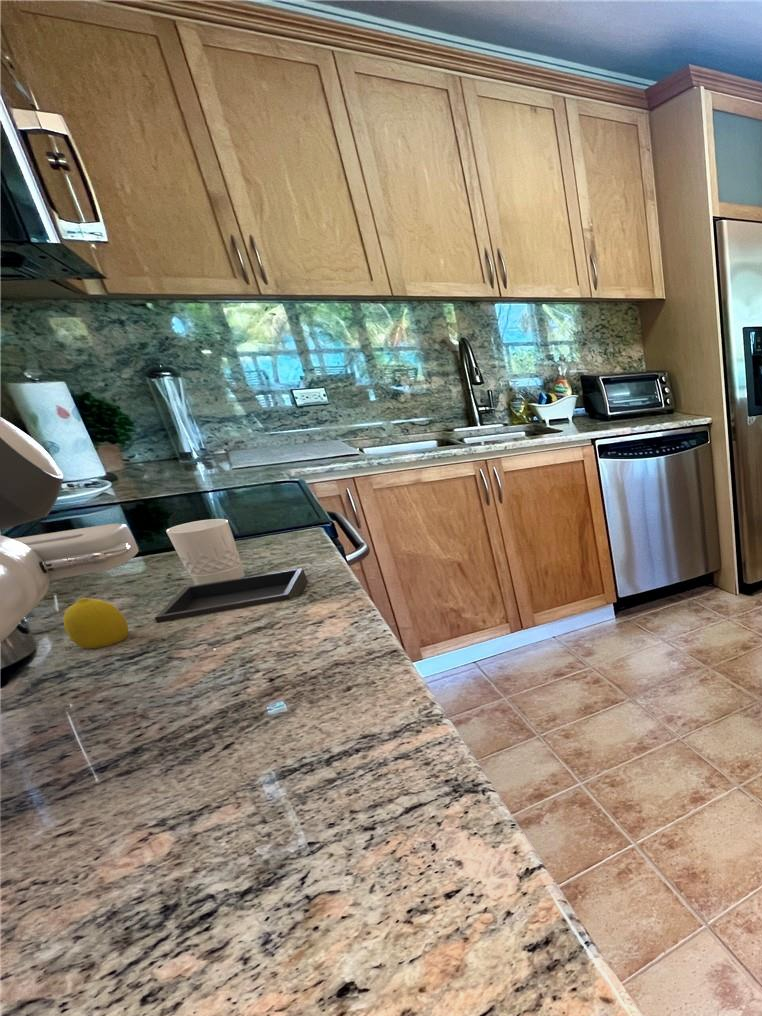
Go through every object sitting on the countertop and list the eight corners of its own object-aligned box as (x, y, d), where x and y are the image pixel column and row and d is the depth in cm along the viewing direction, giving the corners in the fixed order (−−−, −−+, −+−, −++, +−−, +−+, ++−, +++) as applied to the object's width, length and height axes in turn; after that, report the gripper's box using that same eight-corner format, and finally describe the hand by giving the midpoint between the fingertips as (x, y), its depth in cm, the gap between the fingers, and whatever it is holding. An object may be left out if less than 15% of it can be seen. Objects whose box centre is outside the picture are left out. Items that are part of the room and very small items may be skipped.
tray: (161, 633, 92) (154, 617, 91) (191, 601, 103) (184, 586, 102) (293, 609, 98) (287, 594, 97) (308, 581, 109) (303, 567, 108)
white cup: (205, 576, 113) (182, 522, 109) (257, 570, 115) (236, 516, 111) (181, 592, 106) (154, 535, 102) (237, 585, 109) (213, 529, 105)
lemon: (71, 659, 85) (40, 604, 82) (122, 641, 90) (95, 588, 86) (98, 664, 83) (68, 608, 80) (148, 645, 88) (122, 591, 85)
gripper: (111, 525, 65) (132, 500, 75) (-227, 576, 53) (-148, 539, 64) (139, 582, 67) (156, 551, 77) (-178, 643, 56) (-109, 597, 66)
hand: (17, 546), depth 70 cm, fingers open, 8 cm apart
